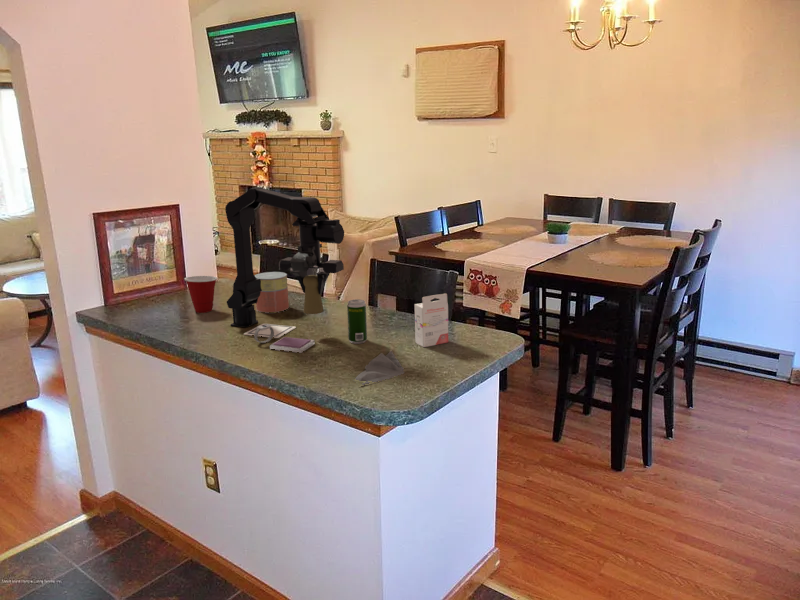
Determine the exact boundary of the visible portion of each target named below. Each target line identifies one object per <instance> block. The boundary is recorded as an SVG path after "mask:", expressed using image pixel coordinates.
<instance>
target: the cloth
mask: <svg viewBox="0 0 800 600" xmlns="http://www.w3.org/2000/svg"><path fill="white" fill-rule="evenodd" d="M365 365H366V366H364V370H363V371H362V372H360V373H358V374H357V376H355V378H354V379H356V380H359V381H366V382H365V383H362V385H365V384H369V383H370V382H368V381H372V382H378V381H381V382H383V381H382V380H384V381H386V380H385V379H388V380H391V379H392V378H395V377H394V376H396V377H398V375H399V376H402V375H404V374H405V371H404V370H405V369H404V367H403V366H402V364H401V362H400V360H398V358H397V357H396V355H395V354H394V352H393V350H390V351H389V352H388V353H387V354H386V355H385V354H384V353H382V352H381V353H380V354H378V355H377V356H376V357H373V359H371V360H370V361H369V362H368V365H367V364H365ZM401 374H402V375H401ZM390 378H391V379H390ZM378 383H379V382H378Z"/></svg>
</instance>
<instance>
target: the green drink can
mask: <svg viewBox="0 0 800 600" xmlns="http://www.w3.org/2000/svg"><path fill="white" fill-rule="evenodd" d="M346 307H347V308H346V309H347V310H346V311H347V333H348V334H347V335H348V337H347V338H348V341H349V342H350V343H351V344H353V345H354V344H355V345H359V344H364V343H366V342H367V340H368V332H367V330H368V327H367V303H366V300H365V299H358V298H357V299H350V300H348V301H347V305H346Z"/></svg>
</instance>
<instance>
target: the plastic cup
mask: <svg viewBox="0 0 800 600" xmlns="http://www.w3.org/2000/svg"><path fill="white" fill-rule="evenodd" d="M217 280H218V277H216V276H215V275H213V276H212V275H194V276H192V275H191V276H188V277H184V281H185V283H186V285H187V288H188V292H189V295H190V299H191V302H192V304H193V309H194V312H195V313H199V314H201V313H204V314H205V313H210V312H212V311H213V308H214V299H215V297H214V296H215V288H216V287H215V286H216V282H217Z"/></svg>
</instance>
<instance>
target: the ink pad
mask: <svg viewBox="0 0 800 600" xmlns="http://www.w3.org/2000/svg"><path fill="white" fill-rule="evenodd" d="M315 343H316V342H315V339H308V338H307V339H306V338H297V337H288V336H282V337H280V338H279V339H278V340H277V341H275V342H272V344H270V345H269V350H271V349H275V350H274V351H280V350H284V351H283V352H289V351H292V352H291V353H297V352H299V353H298V354H301V353H304V352H305V351H306V350H308V349H309V348H311V347H312V346H314V345H315ZM303 351H304V352H303Z"/></svg>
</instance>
